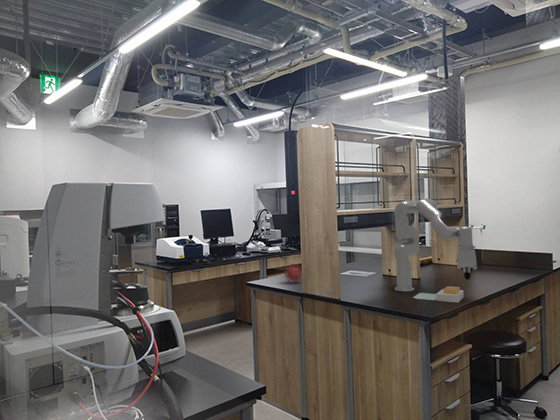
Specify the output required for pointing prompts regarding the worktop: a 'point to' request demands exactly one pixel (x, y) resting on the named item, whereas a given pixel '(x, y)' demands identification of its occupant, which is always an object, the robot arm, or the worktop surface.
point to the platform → (449, 296)
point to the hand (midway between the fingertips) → (467, 279)
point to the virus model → (293, 273)
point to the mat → (425, 296)
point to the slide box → (451, 290)
